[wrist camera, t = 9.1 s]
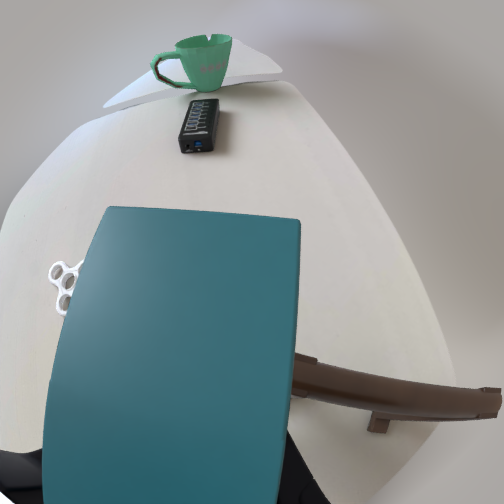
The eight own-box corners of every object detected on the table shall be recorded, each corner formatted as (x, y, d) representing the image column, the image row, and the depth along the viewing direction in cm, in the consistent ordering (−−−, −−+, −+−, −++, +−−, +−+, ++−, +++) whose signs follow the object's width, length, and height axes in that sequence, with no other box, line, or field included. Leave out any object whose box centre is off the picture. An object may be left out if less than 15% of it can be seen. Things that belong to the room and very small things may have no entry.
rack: (381, 432, 18) (494, 442, 6) (253, 406, 19) (252, 421, 8) (392, 390, 19) (506, 362, 8) (268, 361, 21) (288, 313, 10)
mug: (220, 73, 48) (217, 31, 39) (243, 88, 43) (242, 40, 35) (152, 94, 44) (142, 50, 35) (166, 112, 40) (155, 61, 31)
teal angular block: (255, 452, 13) (260, 581, 2) (188, 442, 13) (43, 509, 2) (267, 348, 16) (301, 217, 5) (203, 341, 16) (106, 204, 5)
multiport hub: (219, 109, 39) (218, 97, 37) (213, 151, 34) (211, 137, 32) (192, 111, 39) (190, 100, 37) (180, 153, 34) (177, 139, 32)
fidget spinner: (101, 259, 26) (97, 255, 25) (93, 318, 23) (89, 315, 22) (53, 264, 26) (50, 261, 25) (44, 317, 22) (40, 315, 22)
